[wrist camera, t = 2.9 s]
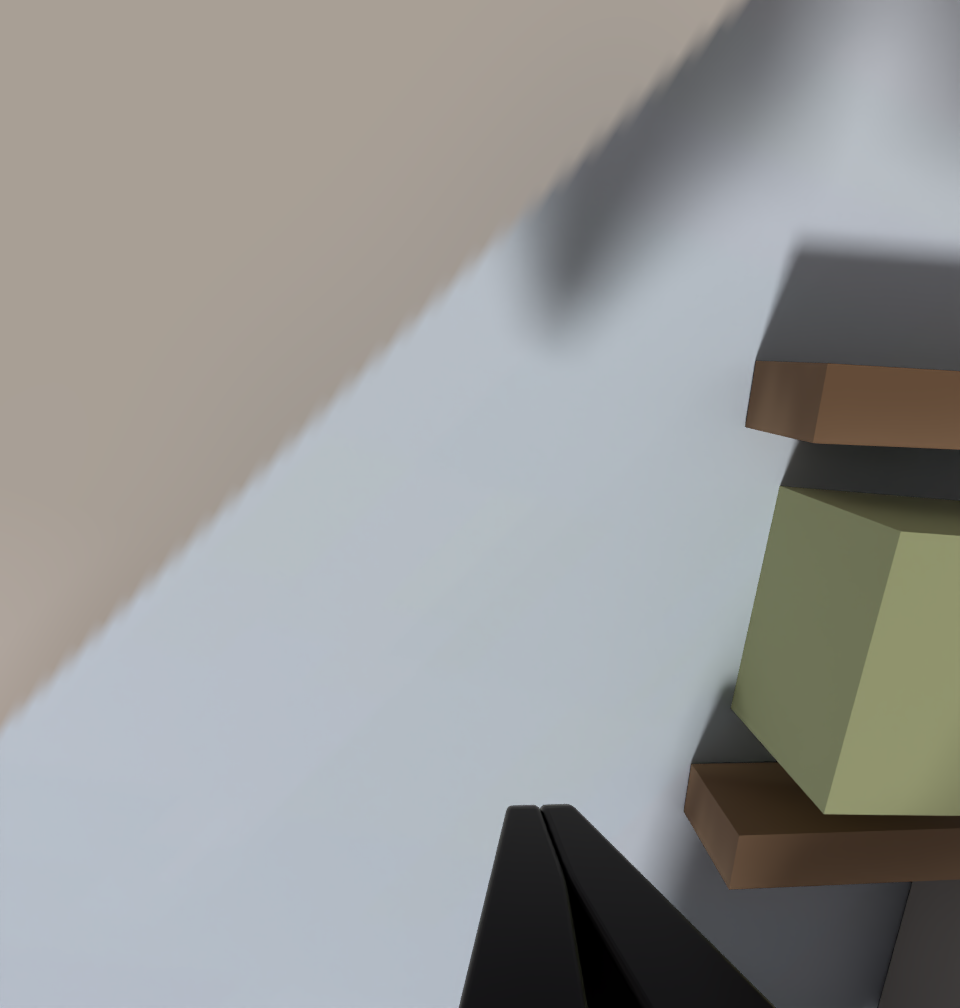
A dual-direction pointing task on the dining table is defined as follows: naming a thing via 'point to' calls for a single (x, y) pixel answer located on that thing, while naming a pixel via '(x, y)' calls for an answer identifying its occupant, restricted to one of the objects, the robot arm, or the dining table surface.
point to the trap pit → (926, 950)
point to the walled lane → (767, 786)
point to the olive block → (859, 651)
